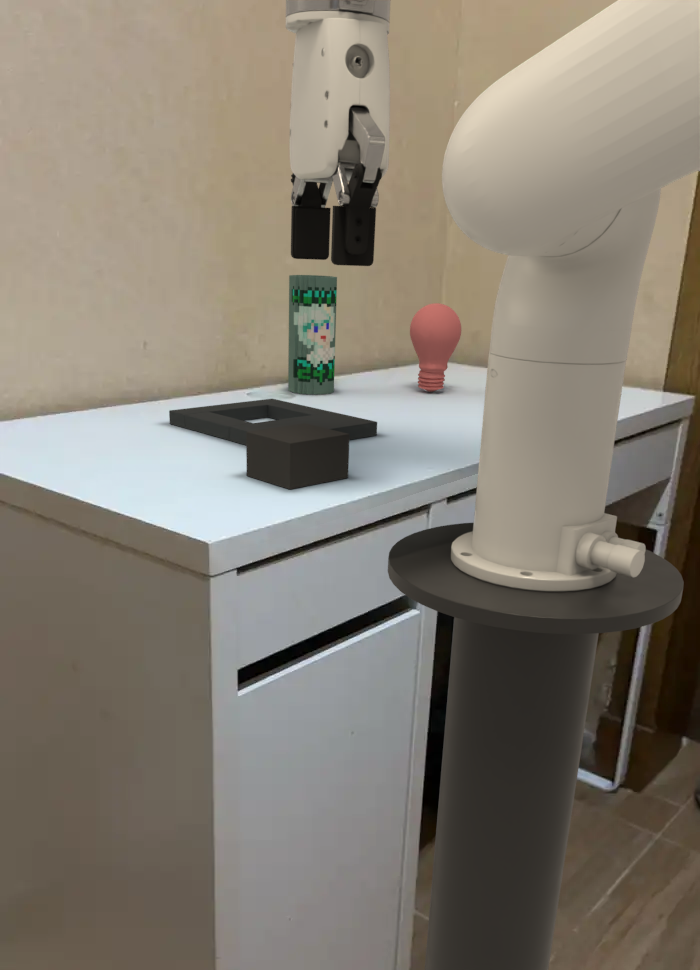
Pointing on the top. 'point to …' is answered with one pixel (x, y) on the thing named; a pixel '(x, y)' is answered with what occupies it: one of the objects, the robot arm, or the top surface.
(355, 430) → the base pad
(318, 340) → the can
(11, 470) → the top surface
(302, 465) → the black block
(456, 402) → the top surface
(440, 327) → the light bulb
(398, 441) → the top surface
